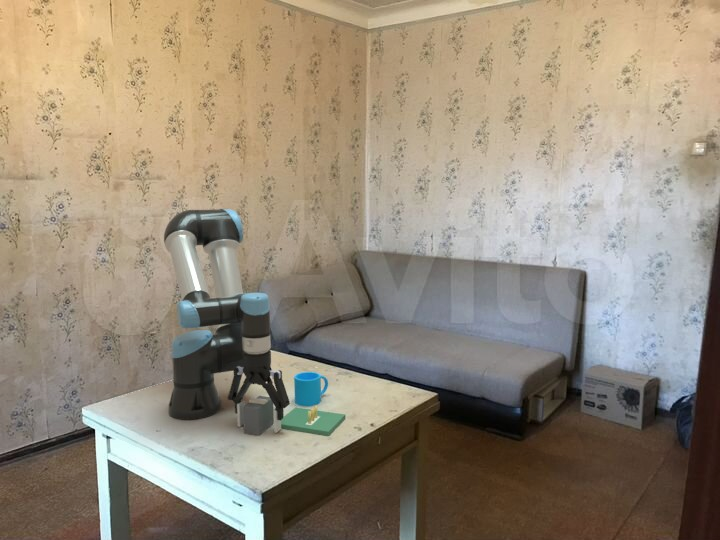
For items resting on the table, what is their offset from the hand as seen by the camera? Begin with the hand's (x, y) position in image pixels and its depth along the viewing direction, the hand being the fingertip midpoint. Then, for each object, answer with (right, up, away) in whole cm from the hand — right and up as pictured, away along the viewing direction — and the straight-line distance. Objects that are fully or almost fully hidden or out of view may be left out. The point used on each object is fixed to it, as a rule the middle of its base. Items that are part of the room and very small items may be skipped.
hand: (259, 427), depth 150 cm
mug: (+13, +3, +21) cm, 25 cm away
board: (+14, 0, +3) cm, 14 cm away
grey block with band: (0, 0, 0) cm, 0 cm away
